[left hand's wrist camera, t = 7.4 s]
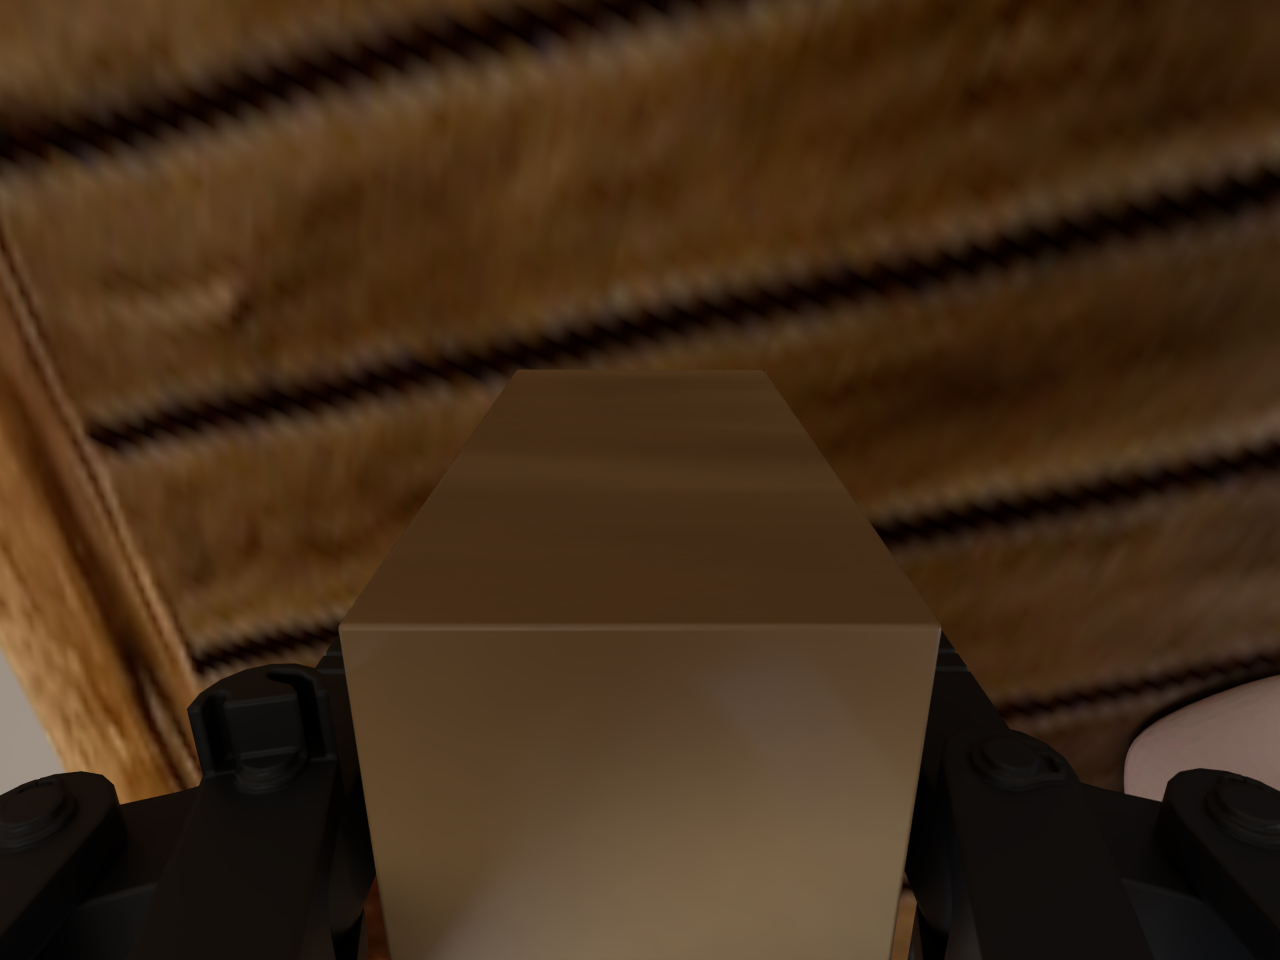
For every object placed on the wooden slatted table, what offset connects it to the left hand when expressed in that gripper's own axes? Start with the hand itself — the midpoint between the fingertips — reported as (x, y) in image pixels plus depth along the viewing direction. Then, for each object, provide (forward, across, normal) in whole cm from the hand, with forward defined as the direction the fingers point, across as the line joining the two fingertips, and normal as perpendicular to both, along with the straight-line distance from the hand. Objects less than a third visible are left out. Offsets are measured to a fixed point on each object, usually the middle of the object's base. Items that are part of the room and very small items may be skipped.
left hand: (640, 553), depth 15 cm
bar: (+1, 0, -8) cm, 8 cm away
